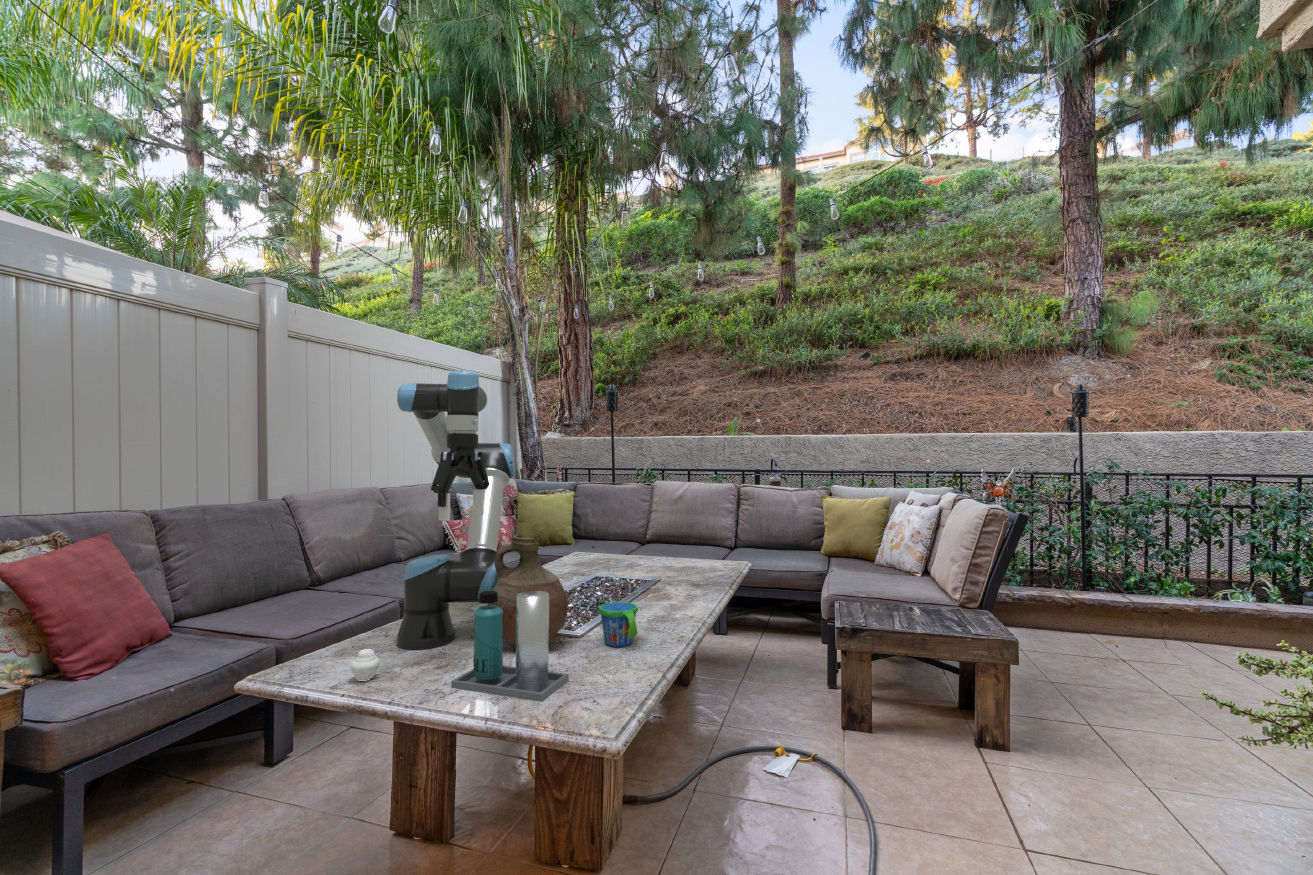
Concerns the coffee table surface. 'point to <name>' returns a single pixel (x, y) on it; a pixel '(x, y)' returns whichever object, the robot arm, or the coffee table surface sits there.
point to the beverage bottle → (488, 638)
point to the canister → (532, 641)
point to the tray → (508, 684)
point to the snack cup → (618, 623)
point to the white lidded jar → (365, 665)
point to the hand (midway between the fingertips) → (461, 517)
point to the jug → (526, 586)
